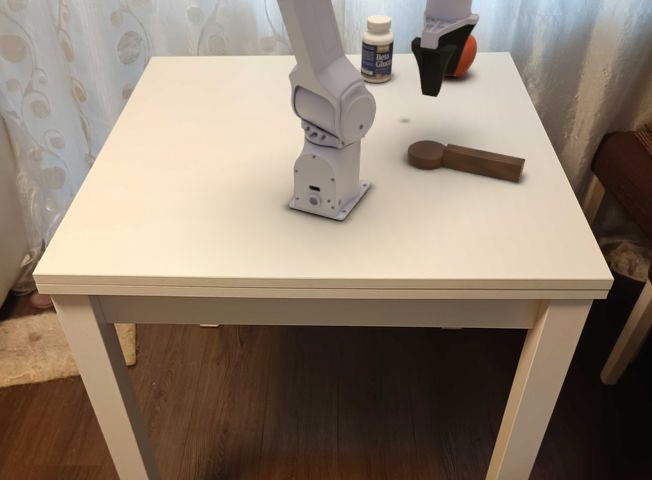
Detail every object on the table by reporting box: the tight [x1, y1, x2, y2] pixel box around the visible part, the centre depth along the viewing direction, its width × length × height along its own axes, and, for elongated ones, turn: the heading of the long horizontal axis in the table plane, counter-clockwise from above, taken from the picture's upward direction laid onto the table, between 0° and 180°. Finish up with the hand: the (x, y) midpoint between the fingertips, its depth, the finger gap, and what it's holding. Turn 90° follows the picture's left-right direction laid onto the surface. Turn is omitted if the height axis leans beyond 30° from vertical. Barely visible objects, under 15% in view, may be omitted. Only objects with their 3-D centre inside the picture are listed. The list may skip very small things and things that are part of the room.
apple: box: [444, 33, 478, 78], centre depth 110 cm, size 7×7×8 cm
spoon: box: [407, 139, 526, 183], centre depth 90 cm, size 16×6×3 cm, turn 63°
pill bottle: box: [360, 14, 395, 84], centre depth 110 cm, size 5×5×10 cm
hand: (438, 84), depth 88 cm, fingers open, 7 cm apart
